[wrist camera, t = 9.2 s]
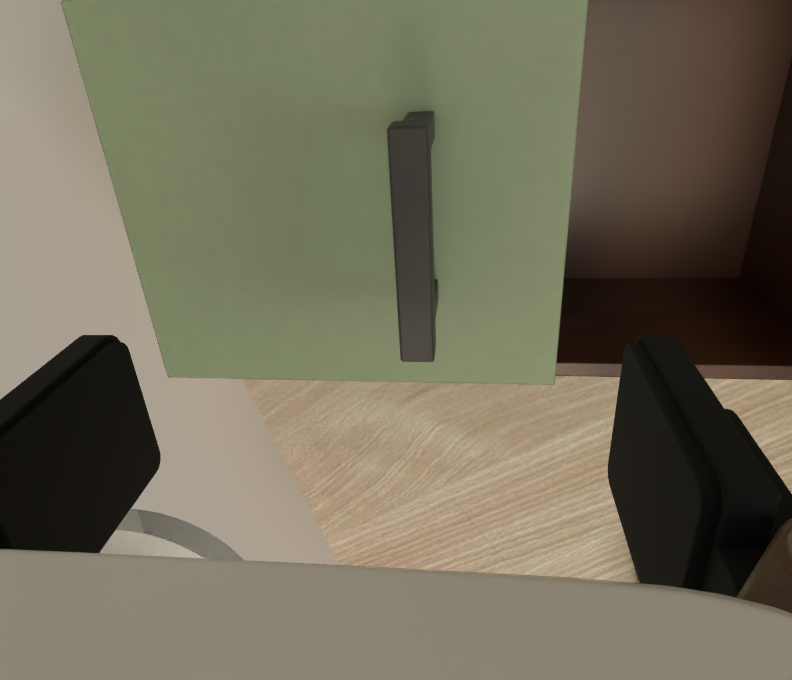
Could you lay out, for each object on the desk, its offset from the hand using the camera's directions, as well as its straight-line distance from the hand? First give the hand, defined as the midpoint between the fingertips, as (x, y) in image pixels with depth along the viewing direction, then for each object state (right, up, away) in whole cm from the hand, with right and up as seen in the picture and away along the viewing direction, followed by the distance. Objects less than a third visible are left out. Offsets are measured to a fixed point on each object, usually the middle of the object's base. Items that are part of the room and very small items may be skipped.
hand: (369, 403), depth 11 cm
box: (+9, +10, +15) cm, 20 cm away
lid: (-1, +6, +9) cm, 11 cm away
